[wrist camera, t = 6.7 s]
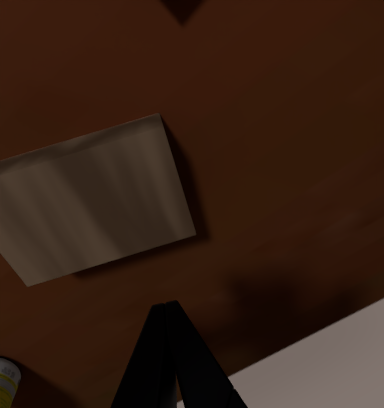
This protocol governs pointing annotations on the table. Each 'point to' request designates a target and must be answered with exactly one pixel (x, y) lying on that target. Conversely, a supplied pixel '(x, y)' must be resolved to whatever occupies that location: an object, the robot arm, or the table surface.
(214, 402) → the robot arm
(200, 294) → the table surface
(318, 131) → the table surface
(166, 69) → the table surface
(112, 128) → the streaky grey slab
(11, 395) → the supplement bottle
